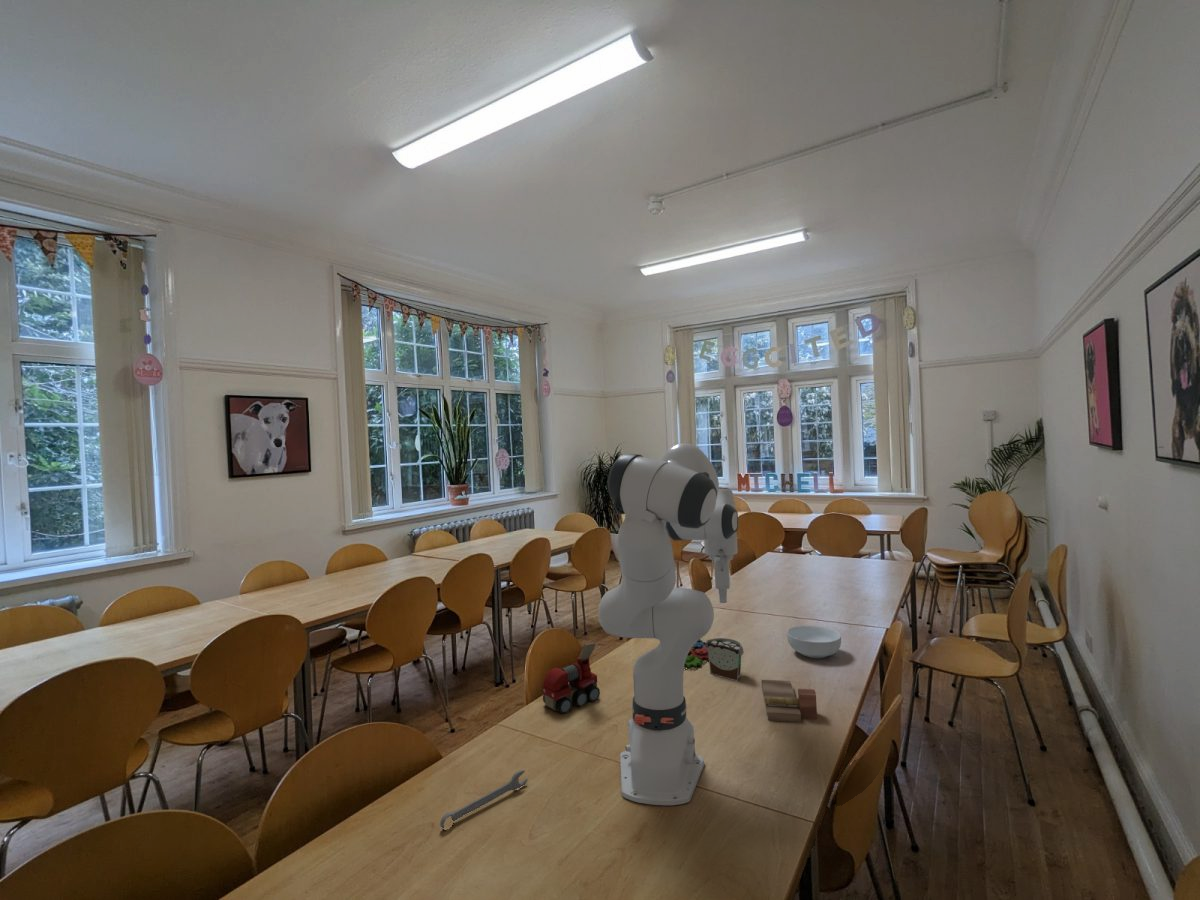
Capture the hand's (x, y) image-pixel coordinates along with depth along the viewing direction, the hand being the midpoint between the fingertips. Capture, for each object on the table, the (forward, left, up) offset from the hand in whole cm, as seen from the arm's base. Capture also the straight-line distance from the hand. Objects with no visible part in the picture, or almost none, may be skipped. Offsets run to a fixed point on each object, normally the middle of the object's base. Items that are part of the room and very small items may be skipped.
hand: (723, 597), depth 150 cm
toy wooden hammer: (-4, -16, -29) cm, 33 cm away
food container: (+20, -1, -29) cm, 35 cm away
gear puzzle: (+31, +13, -30) cm, 45 cm away
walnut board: (+2, -14, -29) cm, 32 cm away
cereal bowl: (+39, -29, -29) cm, 57 cm away
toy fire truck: (-5, +42, -29) cm, 51 cm away
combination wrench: (-50, +48, -30) cm, 76 cm away
